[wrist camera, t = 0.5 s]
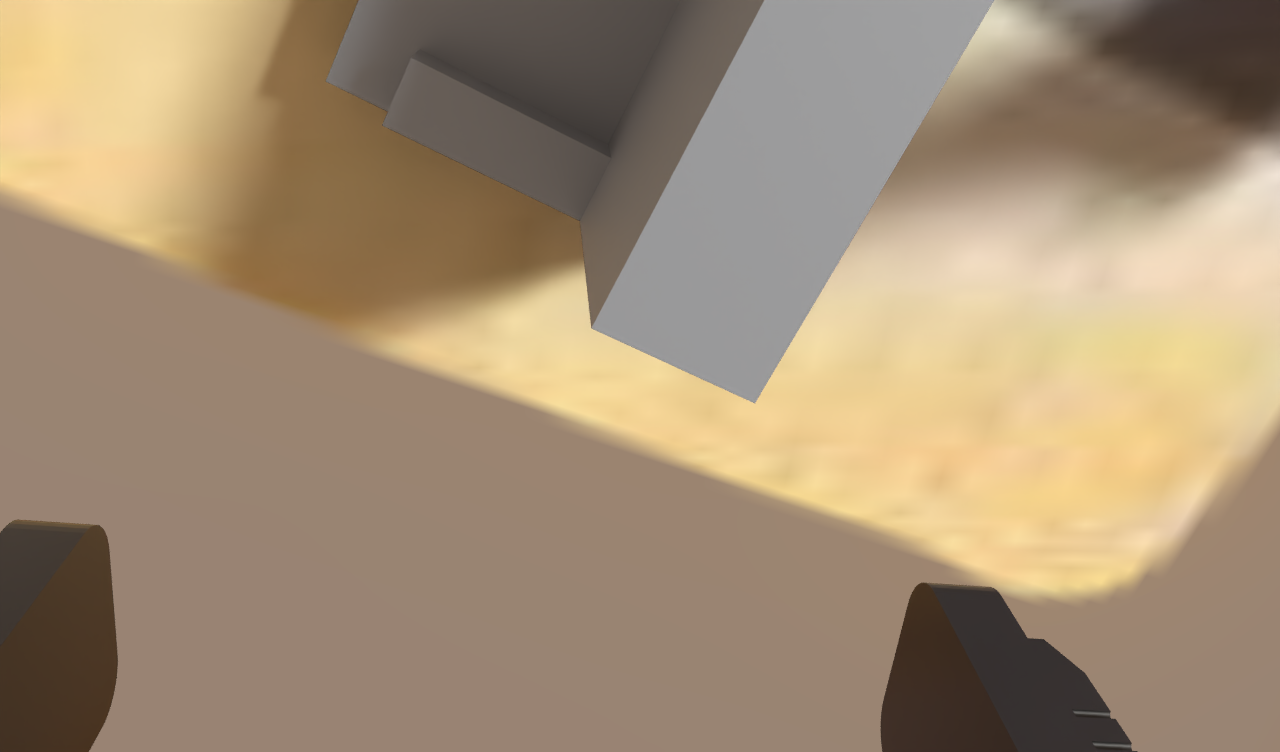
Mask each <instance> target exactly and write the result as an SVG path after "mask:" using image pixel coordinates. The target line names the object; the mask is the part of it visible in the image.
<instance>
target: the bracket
mask: <svg viewBox="0 0 1280 752" xmlns="http://www.w3.org/2000/svg"><path fill="white" fill-rule="evenodd" d="M993 2H994V0H359V1H358V3H357V6H356V8H355V10H354V13H353V15H352V18H351V20H350V23H349V25H348V28H347V30H346V32H345V35H344V37H343V40H342V42H341V45H340V47H339V50H338V52H337V54H336V57H335V59H334V62H333V64H332V67H331V69H330V72H329V74H328V77H327V79H326V82H328V83H330V84H332V85H334V86H336V87H338V88H340V89H342V90H344V91H346V92H348V93H350V94H352V95H355V96H357V97H359V98H361V99H363V100H365V101H367V102H369V103H371V104H373V105H375V106H377V107H379V108H381V109H383V110H385V111H387V112H388V113H387V115H386V117H385V120H384V122H383V124H382V126H384V127H386V128H388V129H391V130H393V131H395V132H397V133H399V134H401V135H403V136H405V137H407V138H409V139H411V140H413V141H415V142H417V143H419V144H422V145H424V146H426V147H428V148H430V149H432V150H434V151H436V152H438V153H440V154H442V155H444V156H446V157H448V158H451V159H453V160H455V161H457V162H459V163H461V164H463V165H465V166H467V167H469V168H471V169H473V170H475V171H477V172H479V173H482V174H484V175H486V176H488V177H490V178H492V179H494V180H496V181H498V182H500V183H502V184H504V185H506V186H508V187H511V188H513V189H515V190H517V191H519V192H521V193H523V194H525V195H527V196H529V197H531V198H533V199H535V200H537V201H540V202H542V203H544V204H546V205H548V206H550V207H552V208H554V209H556V210H558V211H560V212H562V213H564V214H566V215H568V216H571V217H573V218H575V219H577V220H579V221H580V227H581V236H582V246H583V255H584V264H585V274H586V283H587V292H588V301H589V311H590V320H591V328H592V329H594V330H596V331H598V332H600V333H603V334H605V335H607V336H609V337H611V338H614V339H616V340H618V341H620V342H622V343H624V344H627V345H629V346H631V347H633V348H635V349H638V350H640V351H642V352H644V353H646V354H648V355H651V356H653V357H655V358H657V359H659V360H661V361H664V362H666V363H668V364H670V365H672V366H675V367H677V368H679V369H681V370H683V371H685V372H688V373H690V374H692V375H694V376H696V377H699V378H701V379H703V380H705V381H707V382H709V383H712V384H714V385H716V386H718V387H720V388H723V389H725V390H727V391H729V392H731V393H733V394H736V395H738V396H740V397H742V398H744V399H746V400H749V401H751V402H753V403H755V402H756V400H757V399H758V397H759V395H760V394H761V392H762V390H763V389H764V387H765V385H766V384H767V382H768V380H769V379H770V377H771V375H772V373H773V372H774V370H775V368H776V367H777V365H778V363H779V362H780V360H781V358H782V357H783V355H784V353H785V352H786V350H787V348H788V347H789V345H790V343H791V342H792V340H793V338H794V336H795V335H796V333H797V331H798V330H799V328H800V326H801V325H802V323H803V321H804V320H805V318H806V316H807V315H808V313H809V311H810V310H811V308H812V306H813V305H814V303H815V301H816V299H817V298H818V296H819V294H820V293H821V291H822V289H823V288H824V286H825V284H826V283H827V281H828V279H829V278H830V276H831V274H832V273H833V271H834V269H835V267H836V266H837V264H838V262H839V261H840V259H841V257H842V256H843V254H844V252H845V251H846V249H847V247H848V246H849V244H850V242H851V241H852V239H853V237H854V236H855V234H856V232H857V230H858V229H859V227H860V225H861V224H862V222H863V220H864V219H865V217H866V215H867V214H868V212H869V210H870V209H871V207H872V205H873V204H874V202H875V200H876V198H877V197H878V195H879V193H880V192H881V190H882V188H883V187H884V185H885V183H886V182H887V180H888V178H889V177H890V175H891V173H892V172H893V170H894V168H895V167H896V165H897V163H898V161H899V160H900V158H901V156H902V155H903V153H904V151H905V150H906V148H907V146H908V145H909V143H910V141H911V140H912V138H913V136H914V135H915V133H916V131H917V129H918V128H919V126H920V124H921V123H922V121H923V119H924V118H925V116H926V114H927V113H928V111H929V109H930V108H931V106H932V104H933V103H934V101H935V99H936V98H937V96H938V94H939V92H940V91H941V89H942V87H943V86H944V84H945V82H946V81H947V79H948V77H949V76H950V74H951V72H952V71H953V69H954V67H955V66H956V64H957V62H958V61H959V59H960V57H961V55H962V54H963V52H964V50H965V49H966V47H967V45H968V44H969V42H970V40H971V39H972V37H973V35H974V34H975V32H976V30H977V29H978V27H979V25H980V23H981V22H982V20H983V18H984V17H985V15H986V13H987V12H988V10H989V8H990V7H991V5H992V3H993Z"/></svg>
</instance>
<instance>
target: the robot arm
mask: <svg viewBox="0 0 1280 752" xmlns="http://www.w3.org/2000/svg"><path fill="white" fill-rule="evenodd" d="M117 666H118V656H117V642H116V629H115V617H114V604H113V591H112V578H111V565H110V552H109V544H108V539H107V536H106V533H105V531H104V529H103V528H102V527H100V526H99V525H90V524H75V523H60V522H45V521H31V520H14V521H12V522H11V523H9V524H8V525H7V526H6V527H5V528H4V529H3V530H2V531H1V533H0V752H89V750H90V749H91V746H92V745H93V743H94V741H95V739H96V738H97V736H98V734H99V732H100V730H101V728H102V727H103V725H104V723H105V720H106V718H107V715H108V712H109V709H110V707H111V703H112V699H113V695H114V690H115V685H116V678H117ZM881 744H882V751H883V752H1137V751H1132V749H1131V742H1130V740H1129V739H1128V737H1127V736H1126V734H1125V732H1124V731H1123V729H1122V728H1121V726H1120V725H1119V724H1118V722H1117V720H1116V719H1111V718H1110V710H1109V708H1108V707H1107V706H1106V704H1105V702H1104V701H1103V699H1102V698H1101V697H1100V695H1099V694H1098V692H1097V690H1096V689H1095V687H1094V686H1093V685H1092V683H1091V682H1090V680H1089V679H1088V677H1087V676H1086V674H1085V673H1084V672H1083V671H1082V670H1080V669H1079V668H1078V667H1076V666H1075V665H1074V664H1073V663H1072V662H1071V661H1069V660H1068V659H1067V658H1066V657H1065V656H1063V655H1062V654H1061V653H1060V652H1059V651H1057V650H1056V649H1055V648H1054V647H1052V646H1051V645H1050V644H1049V643H1048V642H1046V641H1045V640H1044V639H1029V638H1027V637H1026V635H1025V633H1024V632H1023V630H1022V629H1021V627H1020V625H1019V624H1018V622H1017V621H1016V619H1015V617H1014V616H1013V614H1012V612H1011V611H1010V609H1009V608H1008V606H1007V605H1006V603H1005V601H1004V600H1003V598H1002V596H1001V595H1000V594H999V592H998V591H997V590H995V589H994V588H992V587H982V586H967V585H952V584H937V583H920V584H918V585H917V586H916V587H915V589H914V591H913V592H912V594H911V597H910V599H909V603H908V607H907V610H906V614H905V618H904V622H903V626H902V630H901V634H900V638H899V642H898V645H897V649H896V653H895V657H894V661H893V665H892V669H891V673H890V677H889V681H888V685H887V688H886V693H885V696H884V701H883V706H882V713H881Z"/></svg>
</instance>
